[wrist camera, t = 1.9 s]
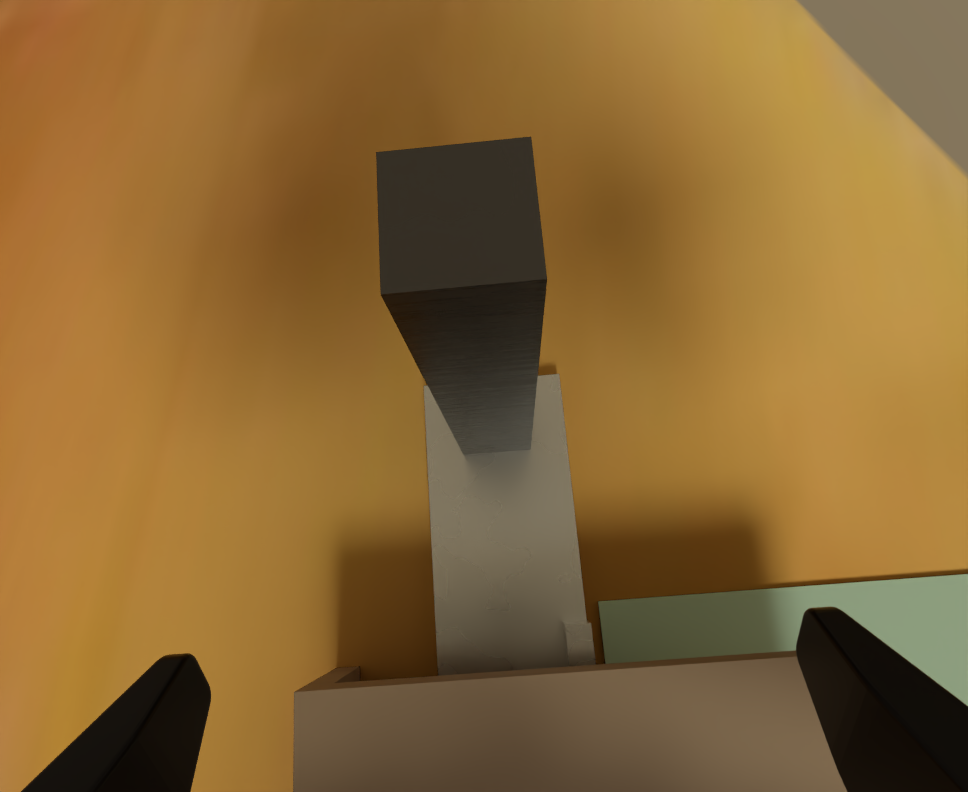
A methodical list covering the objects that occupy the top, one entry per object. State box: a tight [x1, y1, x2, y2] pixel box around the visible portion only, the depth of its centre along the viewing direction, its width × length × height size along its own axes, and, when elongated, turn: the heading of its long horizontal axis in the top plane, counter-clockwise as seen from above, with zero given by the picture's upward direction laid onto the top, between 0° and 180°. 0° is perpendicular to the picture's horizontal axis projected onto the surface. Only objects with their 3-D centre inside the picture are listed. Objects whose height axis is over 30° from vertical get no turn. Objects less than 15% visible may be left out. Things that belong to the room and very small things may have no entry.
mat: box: [598, 574, 968, 706], centre depth 19 cm, size 9×14×1 cm, turn 94°
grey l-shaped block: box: [376, 137, 596, 676], centre depth 14 cm, size 15×5×14 cm, turn 4°
